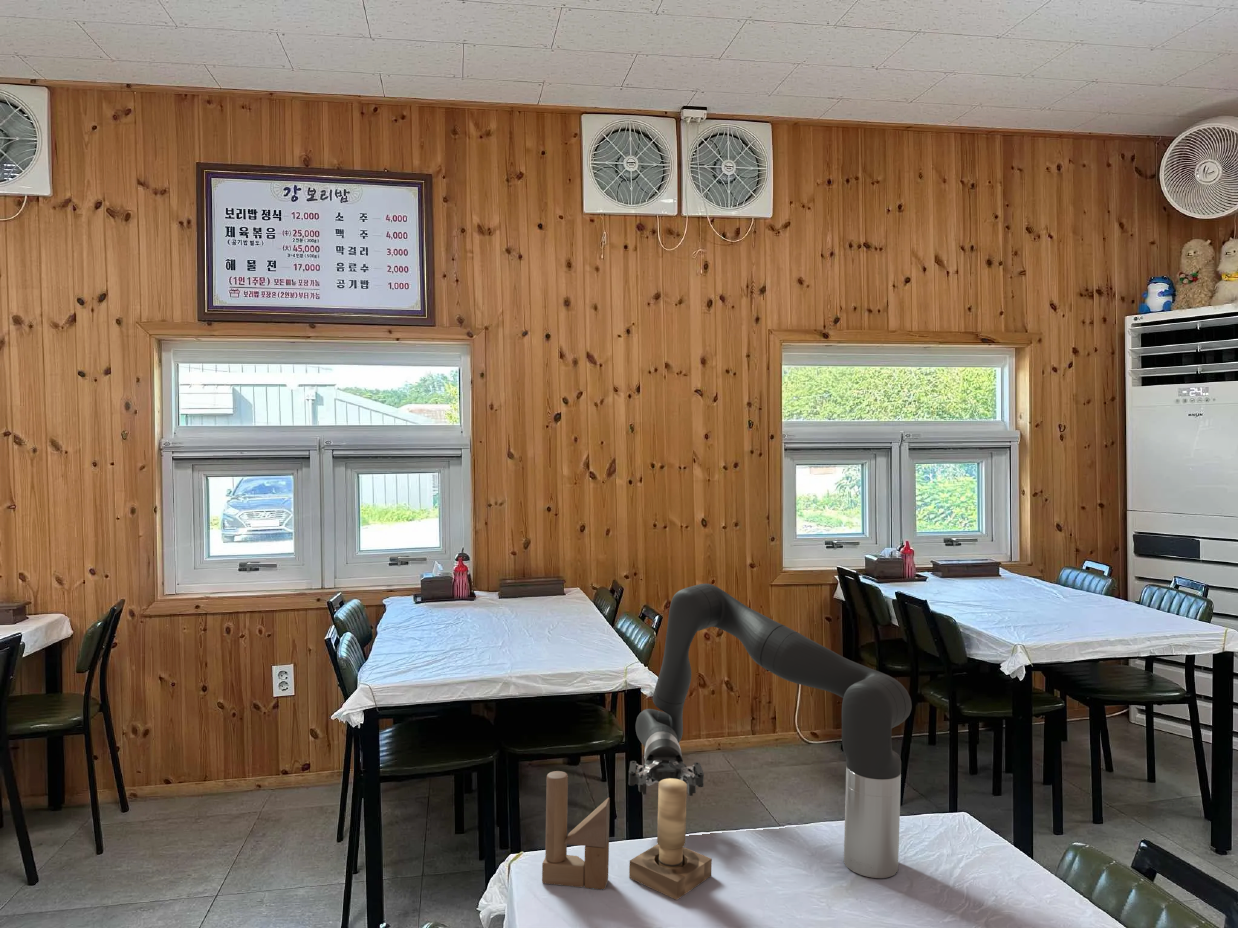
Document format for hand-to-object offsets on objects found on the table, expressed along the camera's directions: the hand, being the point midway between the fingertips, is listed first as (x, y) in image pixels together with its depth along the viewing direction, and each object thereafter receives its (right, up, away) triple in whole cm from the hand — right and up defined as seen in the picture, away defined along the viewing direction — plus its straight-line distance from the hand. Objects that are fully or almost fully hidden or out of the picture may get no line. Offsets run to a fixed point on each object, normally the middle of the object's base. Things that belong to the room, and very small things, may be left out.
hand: (667, 790), depth 151 cm
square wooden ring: (0, -11, -11) cm, 15 cm away
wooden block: (-16, -11, -13) cm, 23 cm away
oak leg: (0, -11, -11) cm, 15 cm away
